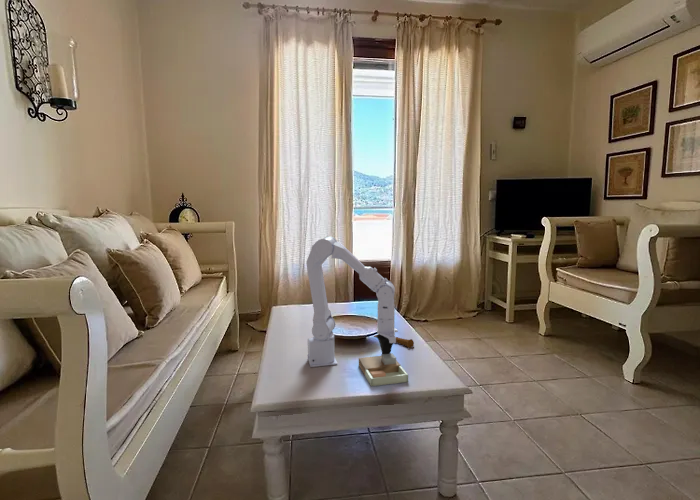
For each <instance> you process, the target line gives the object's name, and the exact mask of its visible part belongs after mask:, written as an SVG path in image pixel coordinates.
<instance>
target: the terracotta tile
mask: <svg viewBox="0 0 700 500" xmlns="http://www.w3.org/2000/svg"><path fill="white" fill-rule="evenodd" d="M370 374H371V376H372V377H373V378H375V377H384V376H386V373H385V372H383V371H373V372H370Z"/></svg>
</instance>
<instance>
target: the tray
mask: <svg viewBox="0 0 700 500" xmlns="http://www.w3.org/2000/svg"><path fill="white" fill-rule="evenodd" d="M364 376H365V378H366V380H367V382H368V383H369V385H370V387H379V386H386V385H395V384H402V383H403V384H404V383H409V374H408V373H407V372H406V370H405V368H404V367H402V365H401V366H399V372H391V373H386V376H384V377H375V378H373V377H372V376H371V374H370V372H369V371H368V369H365V375H364Z"/></svg>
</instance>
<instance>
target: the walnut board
mask: <svg viewBox="0 0 700 500" xmlns="http://www.w3.org/2000/svg"><path fill="white" fill-rule="evenodd" d="M399 366H401V367H402V365H401V364H400V362H399V361H398V359H396V364H387V365H385V364H384V363H383V362H382V360H381V355H375V356H374V355H373V356H366V357H364V356H363V357H358V367H359V368H360V370H361V371H362V373H363V375H364V376H365V369H368V371H369V372H373V371H383V372H385V373H391V372H399Z"/></svg>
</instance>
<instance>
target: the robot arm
mask: <svg viewBox="0 0 700 500" xmlns="http://www.w3.org/2000/svg"><path fill="white" fill-rule="evenodd" d="M330 256H331V259H337V260H342V262H343V263H345V264H346V265H348V266H349V267H350V268H351V269H352V270H354V271H355V272H356V273H357V274H358V276H359V277H358V278H359V280H360V281H361V282H362V283H363V284H364V285H366V286H367V287H368V288H369V289H370V291H372V292H374V293H376V297H377V324H376V333H377V334H376V335H377V337H376V338H377V340H378V342H379V346H380V350H381V354H390V353H392V352H391V350H392V347H393V345H394V344H397V343H396V337H397V336H396V333H398V331H399V329H397V328H396V327H395V318H396V317H395V314H396V313H395V312H396V311H395V306H396V305H395V294H396V293H395V292H396V288H395V285H394V284H393V281H390V280H388V278H387V277H383V276H382V275H381V274H380V273H379V272H378V269H377V268H376V267H374V268H373V267H372V266H365V265H364V263H362V262H361V261H360V260H359V259H358V258H357V257H356V256H355V255H354V254H353V253H352V252H351V251H350V250H349V249H348V248H346V246H345V245H344V244H342V242H340V241H339V240H337V239H336V238H335V237H334V236H330V235H329V236H326V237H323V238H320V239H318V240H317V241H315V243H313V245H312V246H311V248H310V252H309V254H308V257H307V259H306V263H305V264H306V270H307V277H308V283H309V289H310V295H311V296H310V297H311V302H312V309H313V315H312V323H313V324H312V327H311V328H312V329H311V334H312V336H313V337H309V338H307V360H308V363H309V367H310V368H316V367H327V366H335V365H338V361H337V359H336V357H335V334H334V332H333V330H334V329H335V327H336V321H335V318H334V317H333V315H332V312H331V310H330V309H329V304H328V298H327V290H326V286H325V285H326V284H325V278H324V277H325V276H324V271H323V264H324V263H325V261H326V260H327V259H328V258H329V257H330ZM378 334H380V335H378Z"/></svg>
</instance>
